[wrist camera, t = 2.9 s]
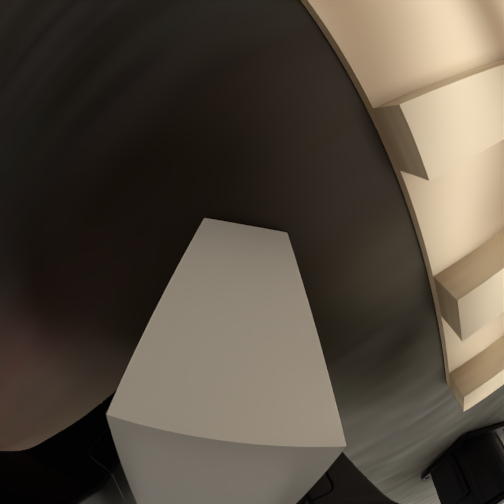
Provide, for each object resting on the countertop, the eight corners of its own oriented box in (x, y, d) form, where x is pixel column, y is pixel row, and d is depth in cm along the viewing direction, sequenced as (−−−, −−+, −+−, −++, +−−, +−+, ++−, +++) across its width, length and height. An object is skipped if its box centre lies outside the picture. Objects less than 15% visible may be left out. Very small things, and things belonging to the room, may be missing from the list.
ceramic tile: (287, 232, 9) (346, 446, 3) (242, 406, 12) (237, 555, 6) (204, 218, 9) (106, 414, 2) (185, 397, 12) (156, 544, 5)
